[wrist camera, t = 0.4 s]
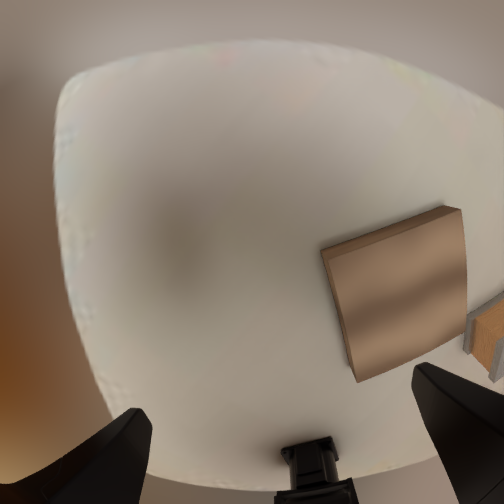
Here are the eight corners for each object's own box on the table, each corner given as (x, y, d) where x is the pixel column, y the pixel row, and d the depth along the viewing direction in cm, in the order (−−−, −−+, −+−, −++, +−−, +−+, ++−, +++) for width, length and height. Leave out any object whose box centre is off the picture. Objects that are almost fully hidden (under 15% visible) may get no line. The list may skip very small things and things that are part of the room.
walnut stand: (452, 319, 22) (465, 331, 19) (350, 366, 23) (357, 383, 21) (443, 205, 19) (461, 209, 16) (320, 250, 20) (327, 260, 18)
